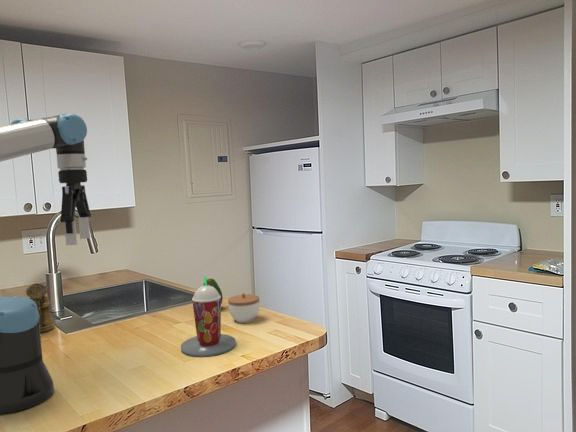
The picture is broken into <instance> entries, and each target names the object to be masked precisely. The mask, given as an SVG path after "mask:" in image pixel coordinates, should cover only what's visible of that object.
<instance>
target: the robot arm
mask: <svg viewBox="0 0 576 432" xmlns="http://www.w3.org/2000/svg"><path fill="white" fill-rule="evenodd" d="M87 134H88V127H87V123H86V122H85V121H84V119H83V118H82V117H81V116H80V115H78V114H75V113H62V114H56V115H54V116H49V117H42V118H35V119H27V118H24V119H23V118H22V119H21V118H15V119H14V120H12V122H11V123H10V124H9V125H8V124H7V125H3V126H0V163H1V162H4V161H8V160H12V159H16V158H19V157H23V156H28V155H30V154H31V155H32V154H35V153H39V152H42V151H46V150H50V149H55V150H56V151H55V152H56V162H57V164H56V165H57V169H59V170H58V172H57V174H58V175H57V176H58V182H59V184H66V186H62V187H61V193H62V197H61V207H60V208H61V212H60V219H59V220H60V223H63V225H64V235H65V245H66V246H76V245H78V240H77V239H78V238H77V227H76V221H75V214H76V210H77V214H78V228H79V229H78V230H79V239H80V240H81V239H90V238H91V235H90V234H91V233H90V223H89V222H90V221H89V218H91V217H92V213H91V212H90V211H91V210H90V207H89V202H88V199H87V194H86V186H85V185H84V184H81V183H87V182H88V173H87V170H86V169H85V168H87V165H86V161H88V158H87V156H86V152H85V150H86V149H85V138H86V137H87ZM41 337H42V336H41V333H40V325H39V312H38V309H37V305H36V303H35V302H34V301H33V300H32V299H30V297H25V296H13V295H12V296H2V297H0V415H3V414H4V415H5V414H12V413H17V412H20V411H24V410H27V409H30V408H33V407H35V406H37V405H39V404H41V403H43V402H45V401H46V400H48V399H49V398H50V397H51V396H52V395H53V393H54V392H55V388H54V386H55V384H54V381H53V378H52V376H51V374H50V372H49V370H48V368H47V365H46V364H45V362H44V359H43V350H42V349H43V347H42V339H41Z"/></svg>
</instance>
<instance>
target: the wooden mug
mask: <svg viewBox="0 0 576 432" xmlns="http://www.w3.org/2000/svg"><path fill="white" fill-rule="evenodd" d="M25 293H26V296H27V298H29V299H32V300H33V301H34V302H35V303H36V305H37V309H38V312H39V325H40V334H42V333H46V332H50V331H53V330H54V329H55V328H56V326H55V321H54V320H53V317H52V313H51V312H52V311H51V308H50V306H51V303H50V300H49V299H48V296H47V293H48V290H47V287H46V286H45V285H44V284H41V283H40V284H39V283H33V284H31V285H30V286H29V287H27V289H26V291H25Z"/></svg>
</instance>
